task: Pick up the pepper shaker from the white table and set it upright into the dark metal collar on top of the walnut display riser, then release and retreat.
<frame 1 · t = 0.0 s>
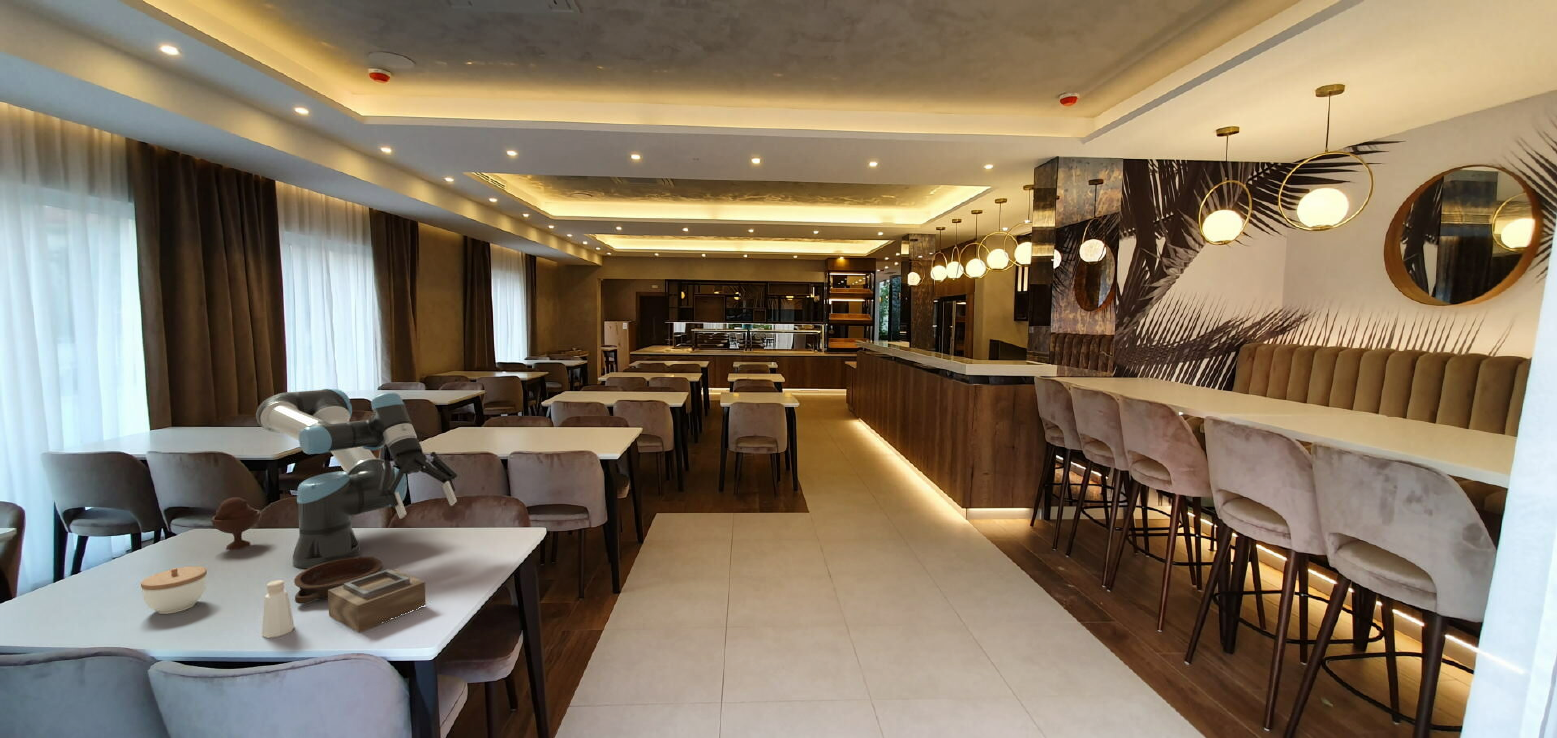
hand: (429, 509, 164), 15 cm above the table, tool tilted 35°, fingers open, 13 cm apart
dish: (340, 589, 149), on the table
lidded jar: (176, 608, 139), on the table
ice cream bowl: (238, 546, 176), on the table
pepper shaker: (278, 632, 128), on the table
display riser: (378, 611, 138), on the table
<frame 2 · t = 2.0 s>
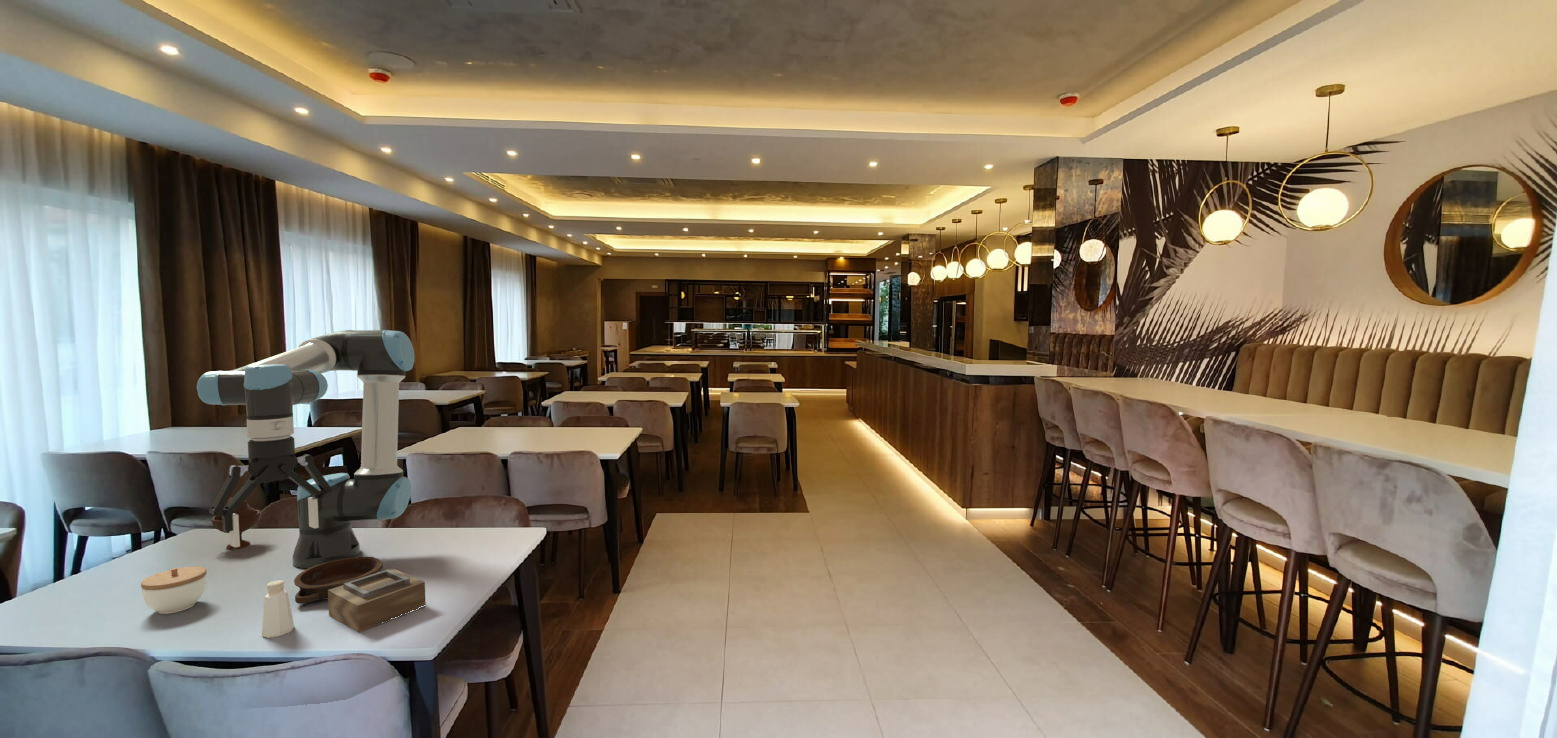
hand: (276, 536, 127), 21 cm above the table, tool pointing down, fingers open, 13 cm apart
nothing on the table moved.
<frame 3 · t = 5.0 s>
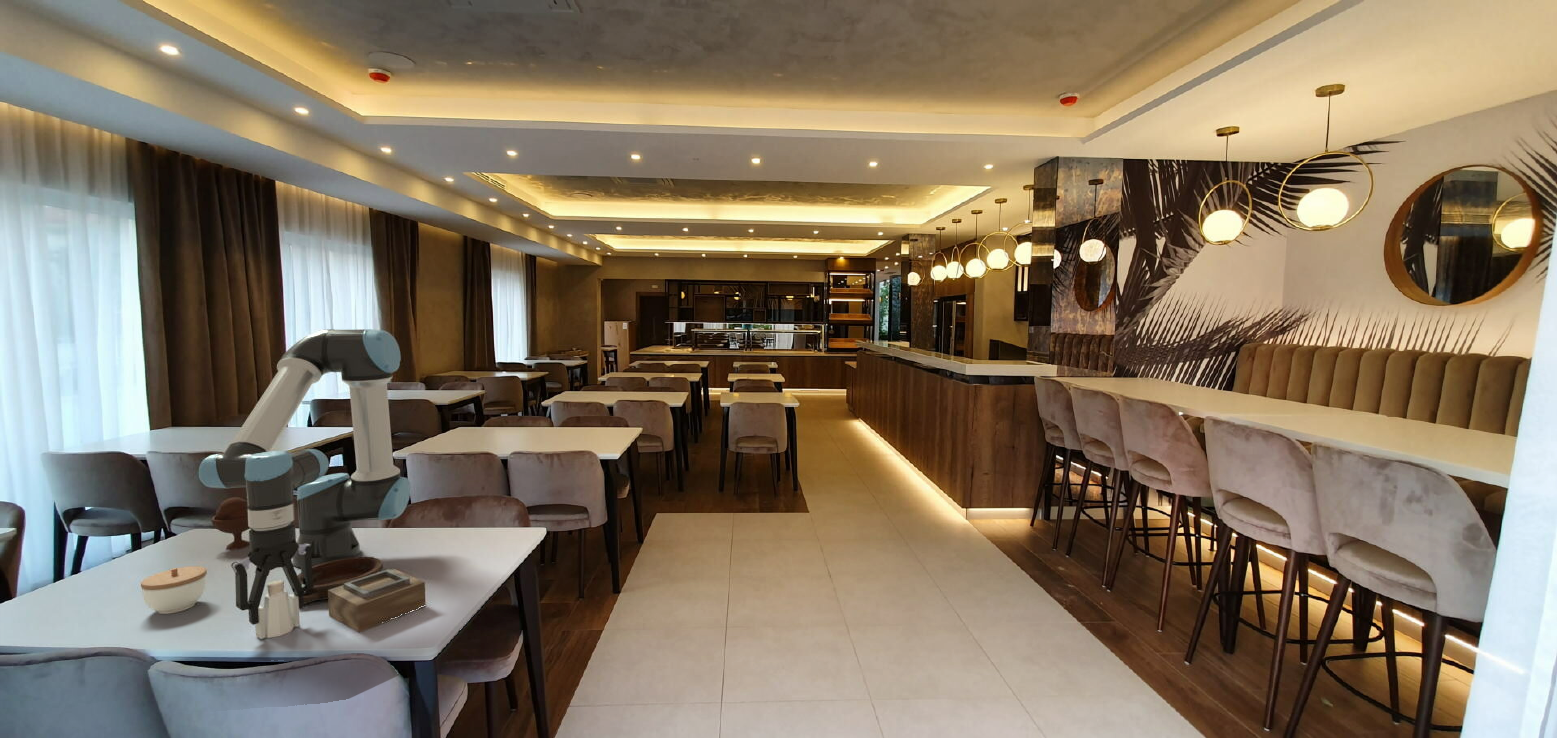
hand: (278, 630, 128), 0 cm above the table, tool pointing down, fingers closed on pepper shaker, 5 cm apart
pepper shaker: (278, 632, 128), on the table, touching gripper
everything else where it was.
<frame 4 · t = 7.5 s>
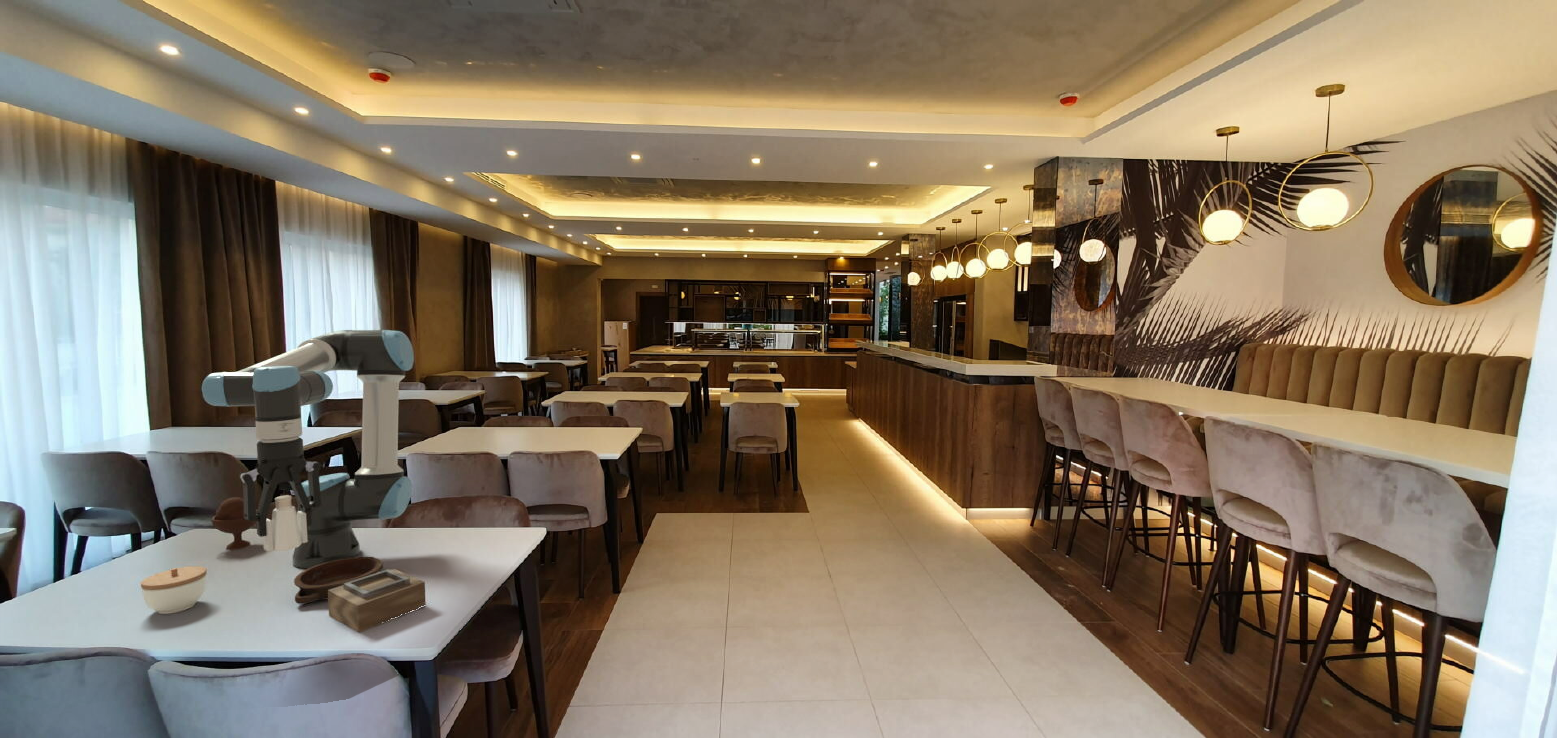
hand: (286, 545, 128), 19 cm above the table, tool pointing down, fingers closed on pepper shaker, 5 cm apart
pepper shaker: (286, 547, 128), point 18 cm above the table, touching gripper
everything else where it was.
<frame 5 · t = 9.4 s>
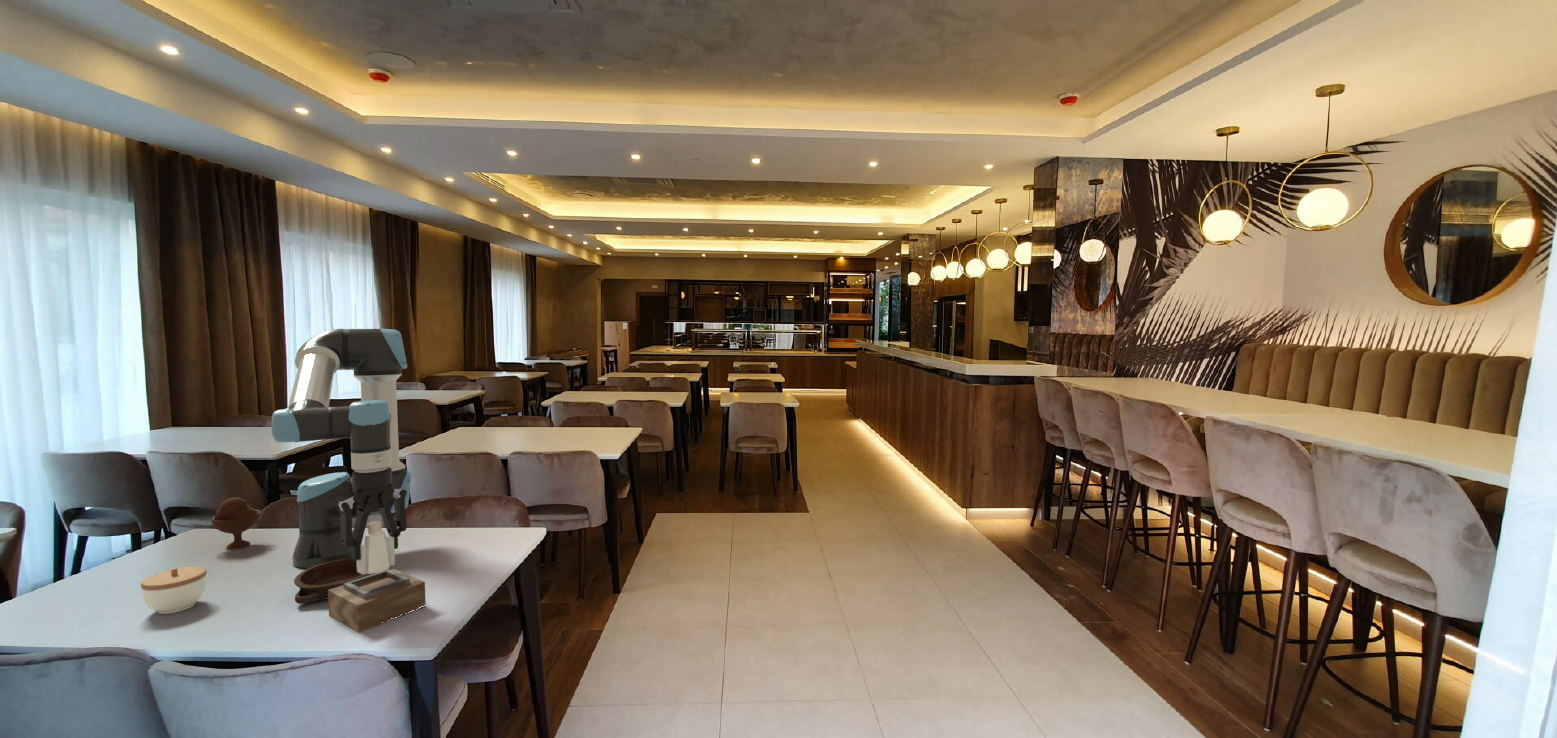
hand: (376, 567, 137), 10 cm above the table, tool pointing down, fingers closed on pepper shaker, 5 cm apart
pepper shaker: (376, 570, 137), point 10 cm above the table, touching gripper
everything else where it was.
when the fingers open (8 cm above the table, at t = 10.4 s): pepper shaker drops 2 cm, resting on display riser.
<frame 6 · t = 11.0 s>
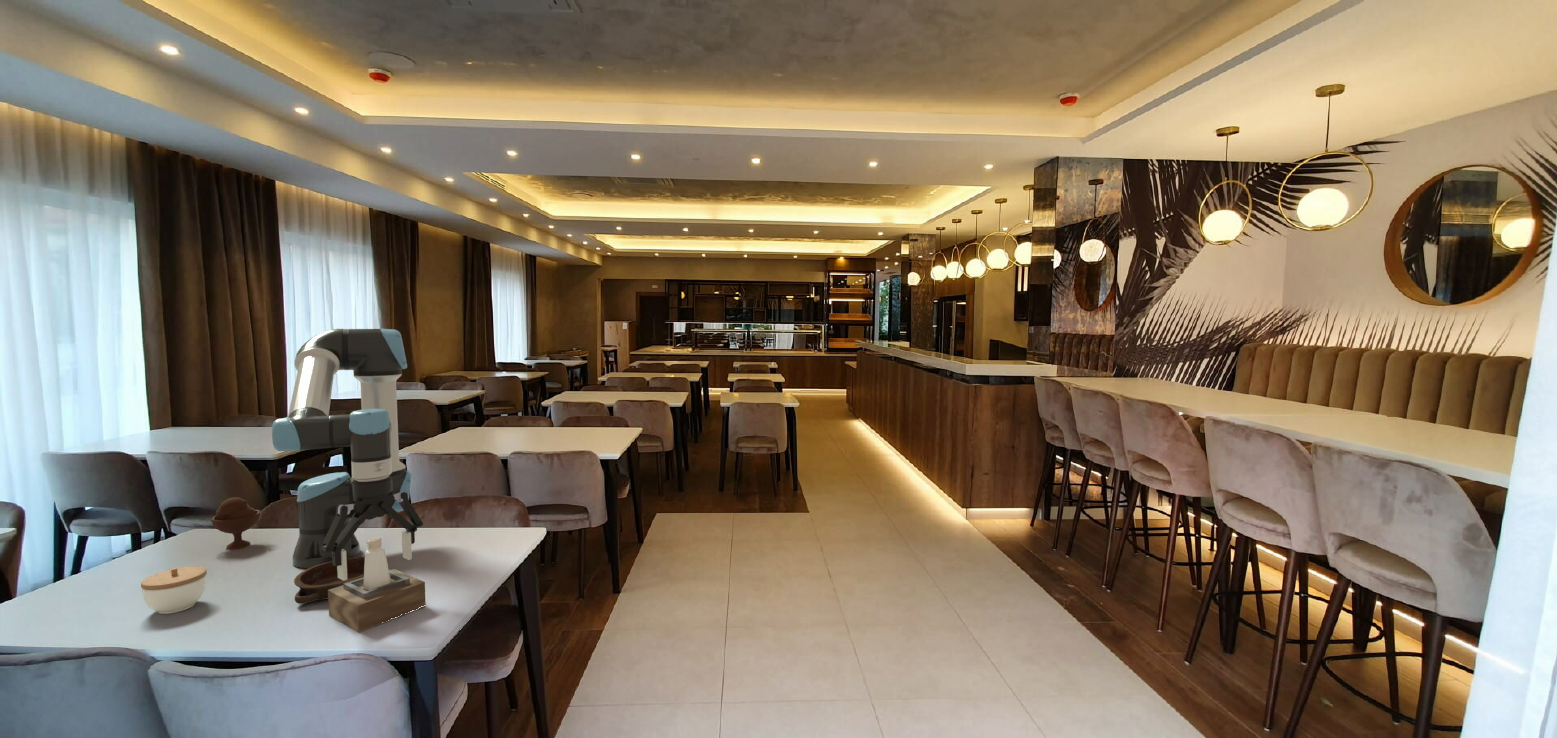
hand: (376, 568, 137), 10 cm above the table, tool pointing down, fingers open, 13 cm apart
pepper shaker: (377, 586, 137), point 6 cm above the table, touching display riser
everything else where it was.
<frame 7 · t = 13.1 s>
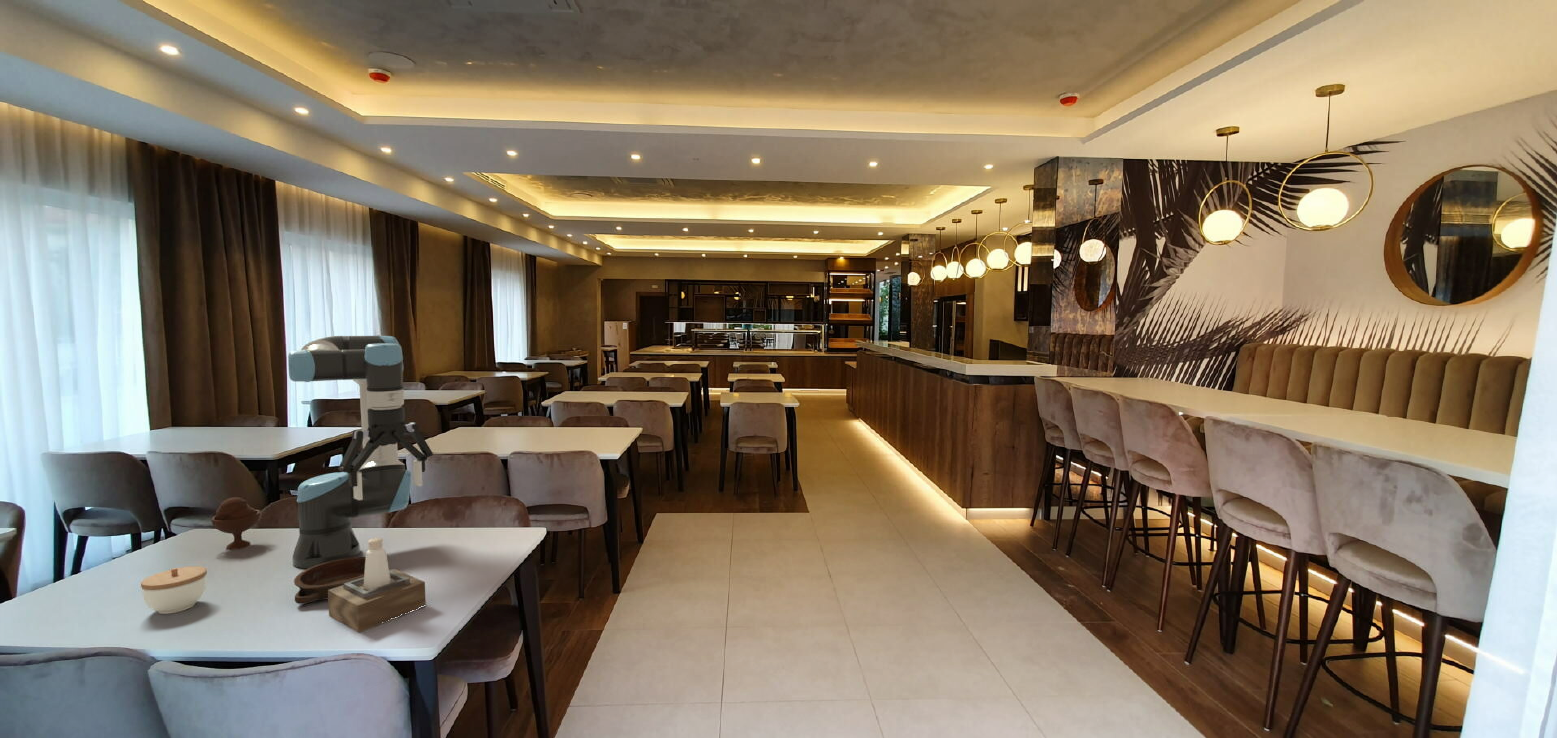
hand: (389, 492, 147), 25 cm above the table, tool pointing down, fingers open, 13 cm apart
nothing on the table moved.
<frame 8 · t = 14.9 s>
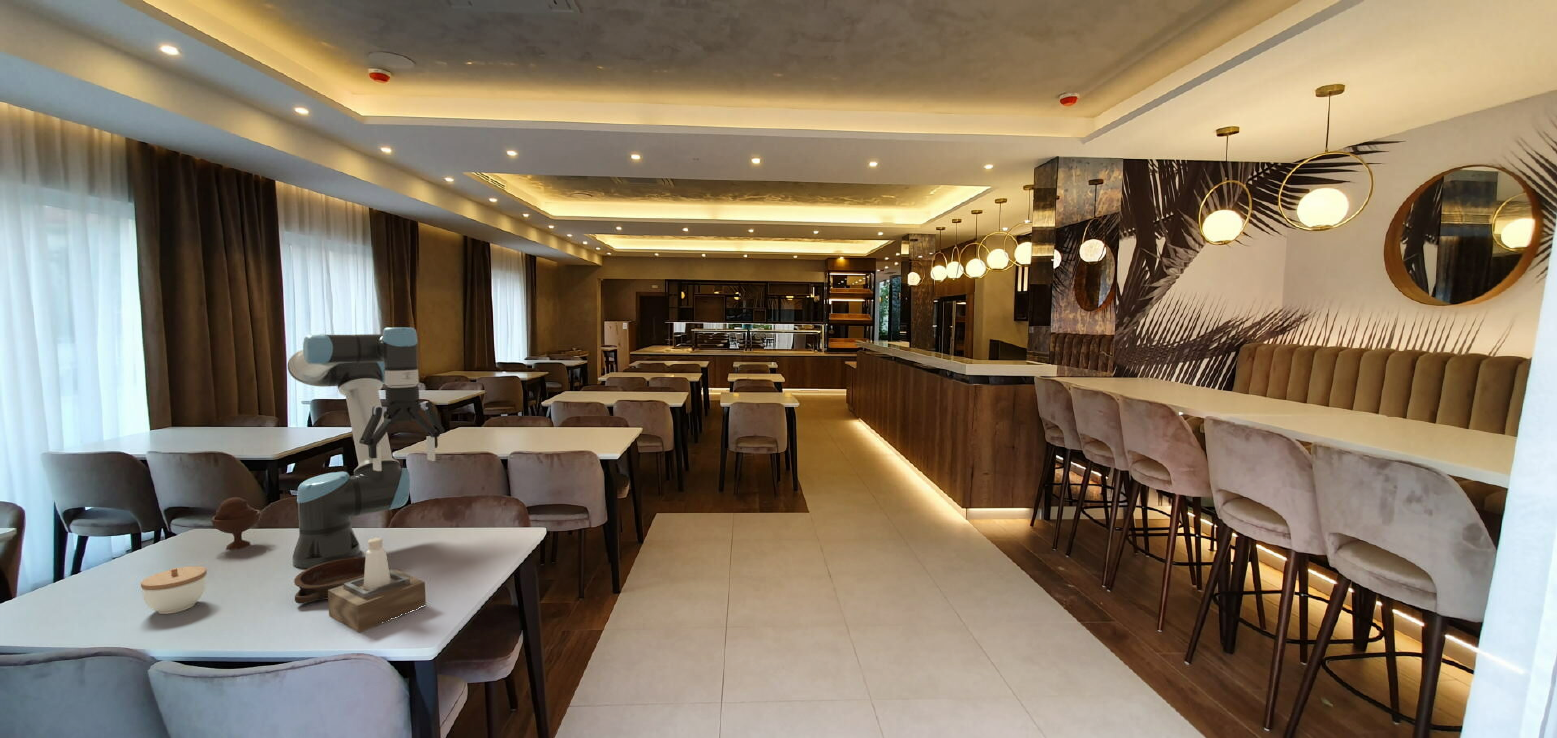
hand: (405, 465, 158), 29 cm above the table, tool pointing down, fingers open, 13 cm apart
nothing on the table moved.
at the end: pepper shaker 0.0 cm off-centre on the display riser, point 5.8 cm above the display riser's base; pepper shaker tilted 0°; the gripper is holding nothing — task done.
